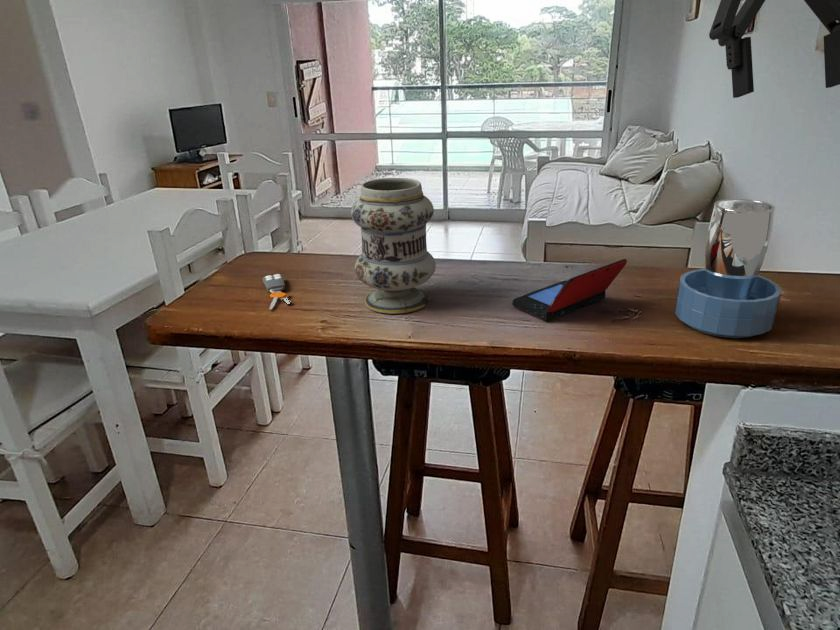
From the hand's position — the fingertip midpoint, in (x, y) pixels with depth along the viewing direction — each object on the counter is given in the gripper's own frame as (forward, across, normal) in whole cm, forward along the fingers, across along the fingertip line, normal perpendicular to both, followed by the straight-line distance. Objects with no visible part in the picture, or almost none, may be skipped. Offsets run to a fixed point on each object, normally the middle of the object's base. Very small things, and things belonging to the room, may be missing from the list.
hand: (790, 90), depth 73 cm
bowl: (+29, +11, -1) cm, 31 cm away
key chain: (+18, +70, -28) cm, 77 cm away
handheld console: (+25, +28, -11) cm, 39 cm away
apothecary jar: (+21, +52, -20) cm, 59 cm away
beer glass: (+28, +11, -1) cm, 30 cm away
